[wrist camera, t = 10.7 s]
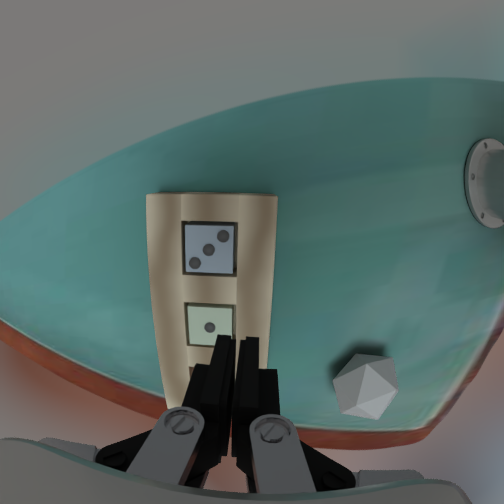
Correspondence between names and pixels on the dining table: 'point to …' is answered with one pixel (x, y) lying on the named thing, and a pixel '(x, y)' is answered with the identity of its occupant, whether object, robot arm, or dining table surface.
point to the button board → (208, 277)
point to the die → (366, 385)
